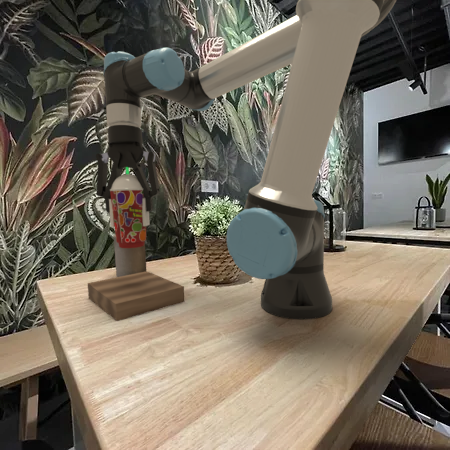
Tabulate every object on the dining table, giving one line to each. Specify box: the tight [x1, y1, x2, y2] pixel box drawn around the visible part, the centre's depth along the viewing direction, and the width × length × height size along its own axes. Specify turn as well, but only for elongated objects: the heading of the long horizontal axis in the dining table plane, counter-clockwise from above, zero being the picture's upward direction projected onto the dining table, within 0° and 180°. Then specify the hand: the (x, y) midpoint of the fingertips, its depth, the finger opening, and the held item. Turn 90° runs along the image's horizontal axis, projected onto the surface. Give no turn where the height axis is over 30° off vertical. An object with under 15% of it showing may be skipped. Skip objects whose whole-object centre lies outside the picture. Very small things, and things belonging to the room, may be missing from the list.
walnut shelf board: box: [87, 270, 185, 322], centre depth 70 cm, size 20×16×4 cm
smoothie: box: [110, 167, 147, 248], centre depth 68 cm, size 8×8×20 cm
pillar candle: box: [113, 234, 147, 277], centre depth 94 cm, size 10×10×15 cm
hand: (130, 225), depth 68 cm, fingers closed on smoothie, 7 cm apart
